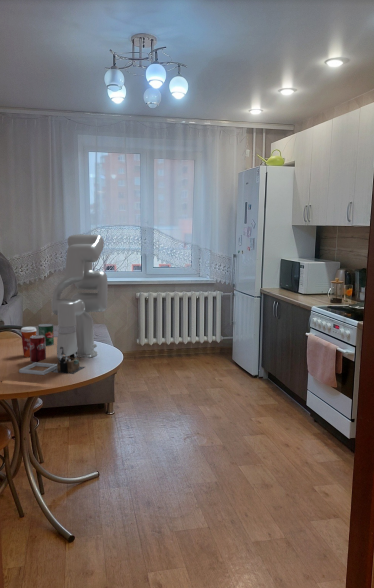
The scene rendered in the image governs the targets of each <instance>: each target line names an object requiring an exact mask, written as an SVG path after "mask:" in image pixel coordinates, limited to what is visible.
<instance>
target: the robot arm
mask: <svg viewBox="0 0 374 588" xmlns="http://www.w3.org/2000/svg"><path fill="white" fill-rule="evenodd" d="M104 242H105V241H104V239H103V236H102V235H100V234H72V235H69V236H68V237H67V248H66V249H67V250H66V257H65V269H64V276H63V277H62V278H60V280H59V281H58V283H57V284H55V287H54V289H53V291H52V297H51V298H52V299H51V311H52V313H53V314H54V315H56V316H57V326H58V327H57V330H58V331H57V332H58V333H57V334H58V335H57V338H56V357H57V361H58V360H59V363H60V371H61V372H67V371H68V369H67V363H66V362H67V357H69V358H85V359H89V358H93V357H96V356H97V355H98V352H97V351H96V350H95V349H96V348H97V347H98V345H97V343H95V341H94V340H95V338H94V335H95V333H94V329H95V328H94V318H93V316H92V315H91V314H90V313H103V312H106V310H107V309H108V291H109V290H108V285H109V282H108V275H107V273H106V272H105V271H103V270H93V263H96V262H98V261H99V259H100V257H101V254H102V252H103V249H104ZM73 284H74V285H75V288H77V290H83V291H85V290H86V291H94V290H95V291H97V292H77V293H74V294H73V295H72V296H71V298H61V295H62V293H63V291H64V290H65V289H66V288H68V287H70V286H72V285H73ZM63 358H65V359H63Z"/></svg>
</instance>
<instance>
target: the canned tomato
mask: <svg viewBox="0 0 374 588" xmlns="http://www.w3.org/2000/svg"><path fill="white" fill-rule="evenodd" d="M37 329H38V335H43V336H45V342H46V347H50V346H53V345H54V344H55V341H54V340H55V339H54V323H39V324H38V328H37Z"/></svg>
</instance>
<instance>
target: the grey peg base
mask: <svg viewBox="0 0 374 588" xmlns="http://www.w3.org/2000/svg"><path fill="white" fill-rule="evenodd" d="M67 361H71V359H70V357H69V358H67ZM83 369H86V366H79V368H78V369H76V370H75V371H73V372H61V371H57V368H56V369H54V370H52V371H50V373H57V374H58V373H59V374H67V375H74V374H76V373H78V372H80V371H81V370H83Z"/></svg>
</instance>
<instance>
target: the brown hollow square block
mask: <svg viewBox="0 0 374 588" xmlns="http://www.w3.org/2000/svg"><path fill="white" fill-rule="evenodd" d="M67 358H70V356H68V357H67ZM63 359H65V358H63ZM70 359H71V361H67V362H66V363H67V369H68V371H67V372H73V371H75V370H76V369H78V368H79V367H80V357H76V358H70ZM56 364H57V368H56V369H57V371H60V363H59V360H58V359H57V362H56Z"/></svg>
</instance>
